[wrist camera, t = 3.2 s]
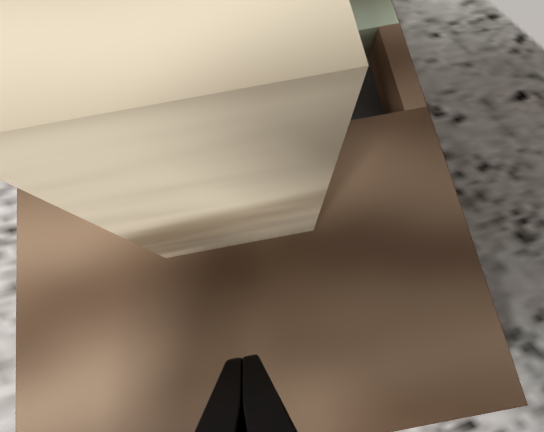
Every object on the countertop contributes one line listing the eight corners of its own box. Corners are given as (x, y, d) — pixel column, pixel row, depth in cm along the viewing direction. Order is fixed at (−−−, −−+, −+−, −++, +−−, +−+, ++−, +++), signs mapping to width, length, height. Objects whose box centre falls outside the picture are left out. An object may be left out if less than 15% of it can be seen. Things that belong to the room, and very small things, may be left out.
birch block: (313, 230, 15) (368, 65, 5) (165, 258, 14) (-73, 144, 5) (285, 101, 16) (285, -215, 7) (151, 125, 16) (-48, -159, 6)
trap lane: (488, 391, 15) (559, 417, 11) (58, 473, 15) (-21, 529, 11) (360, -21, 21) (376, -97, 17) (49, 34, 21) (-5, -30, 17)
